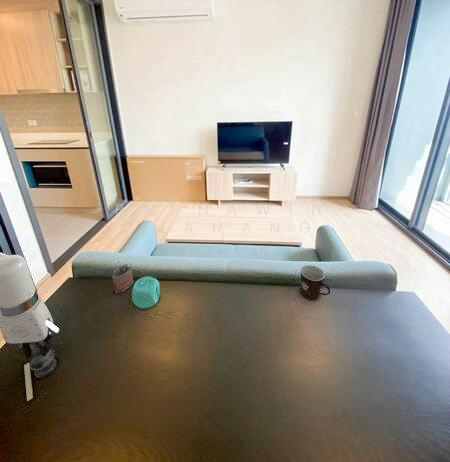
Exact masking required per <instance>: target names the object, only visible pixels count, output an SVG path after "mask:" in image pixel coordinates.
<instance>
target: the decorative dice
mask: <svg viewBox="0 0 450 462" xmlns="http://www.w3.org/2000/svg"><path fill="white" fill-rule="evenodd" d="M131 291H132V292H131V300H132V303H133V304H134V305H135V306H136V307H138V308H140V309H148V308H151V307H153V306H154V305H156V304H157V303H158V301H159V298H160V291H161V285H160V281H159V280H158V279H156V278H155V277H154V276H143V277H140V278H139V279H137V280H136V281H135V282H134V283H133V287H132V290H131Z"/></svg>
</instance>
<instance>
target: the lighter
mask: <svg viewBox="0 0 450 462" xmlns="http://www.w3.org/2000/svg"><path fill="white" fill-rule="evenodd" d="M111 280H112V282H113V286H114V293H115V294H117V295H118V294H120V293H122V292H125V291H126V290H127V289H129V288H131V287H132V286H133V285H134V284H135V280H134V277H133V272H132V266H129V265H128V264H127V263H126V264H123V265H120V266H119V267H118V268H116V269H115V270H113V271H112V275H111Z"/></svg>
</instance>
